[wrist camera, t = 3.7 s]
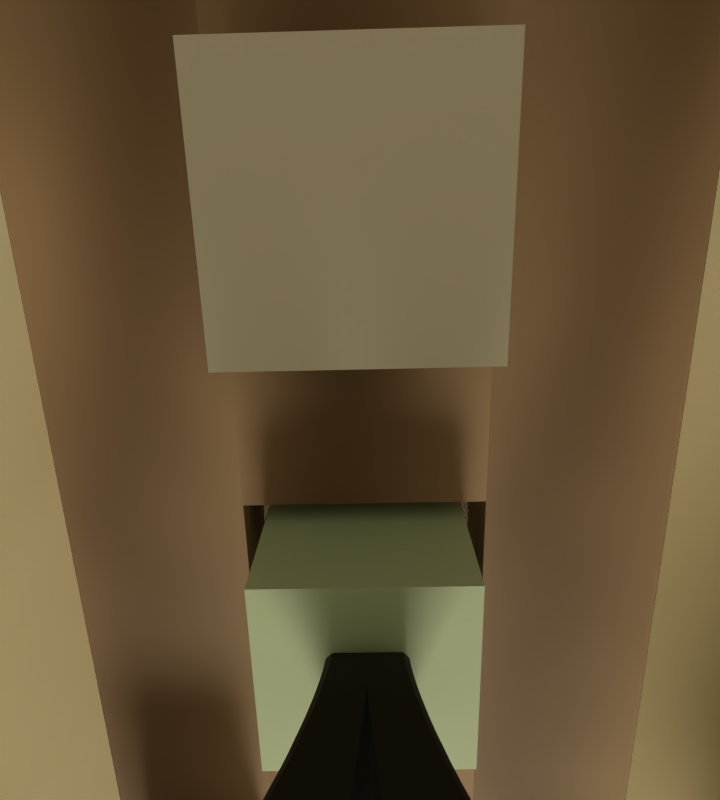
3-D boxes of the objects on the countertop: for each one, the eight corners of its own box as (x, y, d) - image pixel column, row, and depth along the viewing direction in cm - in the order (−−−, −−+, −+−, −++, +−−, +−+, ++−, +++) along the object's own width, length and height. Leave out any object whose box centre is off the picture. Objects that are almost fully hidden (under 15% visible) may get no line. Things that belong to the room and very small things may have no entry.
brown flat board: (691, -42, 11) (766, -95, 9) (575, 898, 19) (601, 986, 17) (20, -20, 11) (-59, -67, 9) (177, 900, 19) (153, 988, 17)
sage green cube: (455, 488, 14) (484, 586, 10) (451, 637, 15) (475, 768, 12) (274, 490, 14) (244, 589, 10) (285, 639, 15) (262, 771, 12)
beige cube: (473, 77, 10) (525, 25, 7) (466, 314, 12) (507, 366, 8) (235, 85, 11) (172, 34, 7) (254, 319, 12) (208, 372, 8)
